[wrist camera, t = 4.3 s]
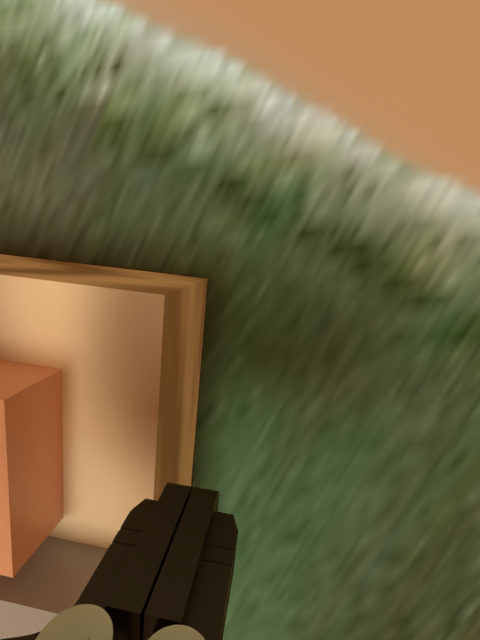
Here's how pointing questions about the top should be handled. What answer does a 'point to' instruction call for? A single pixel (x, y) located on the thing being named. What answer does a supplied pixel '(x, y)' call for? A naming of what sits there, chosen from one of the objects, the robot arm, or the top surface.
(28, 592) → the slate tile
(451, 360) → the top surface
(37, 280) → the board
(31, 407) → the terracotta tile
